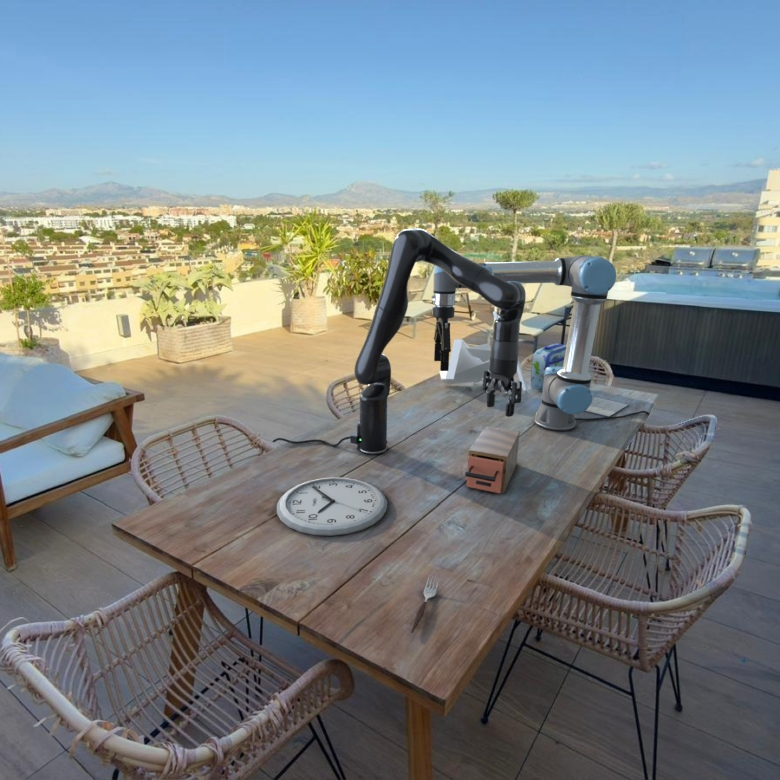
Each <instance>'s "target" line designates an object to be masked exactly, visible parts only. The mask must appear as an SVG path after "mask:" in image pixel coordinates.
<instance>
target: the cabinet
mask: <svg viewBox="0 0 780 780" xmlns="http://www.w3.org/2000/svg"><path fill="white" fill-rule="evenodd" d="M520 434H521V432H520V431H518V430H513V429H506V428H500V427H494V426H487V425H485V426H484V428H483V429H482V430H481V432H480V433H479V435H478V436H477V437H476V439H475V441H474V442H473V444H472V445H471V446H470V448H469V449H468V457H469V456H474V454H475V455H481V456H486V457H492V458H498V459H503V462H504V465H503V476H502V487H501V493H502V494H504V493H505V492H506V489H507V487H508V486H509V483H510V481H511V478H512V476H513V473H514V471H515V469H516V467H517V464H518V455H519V445H520V436H521V435H520Z"/></svg>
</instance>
